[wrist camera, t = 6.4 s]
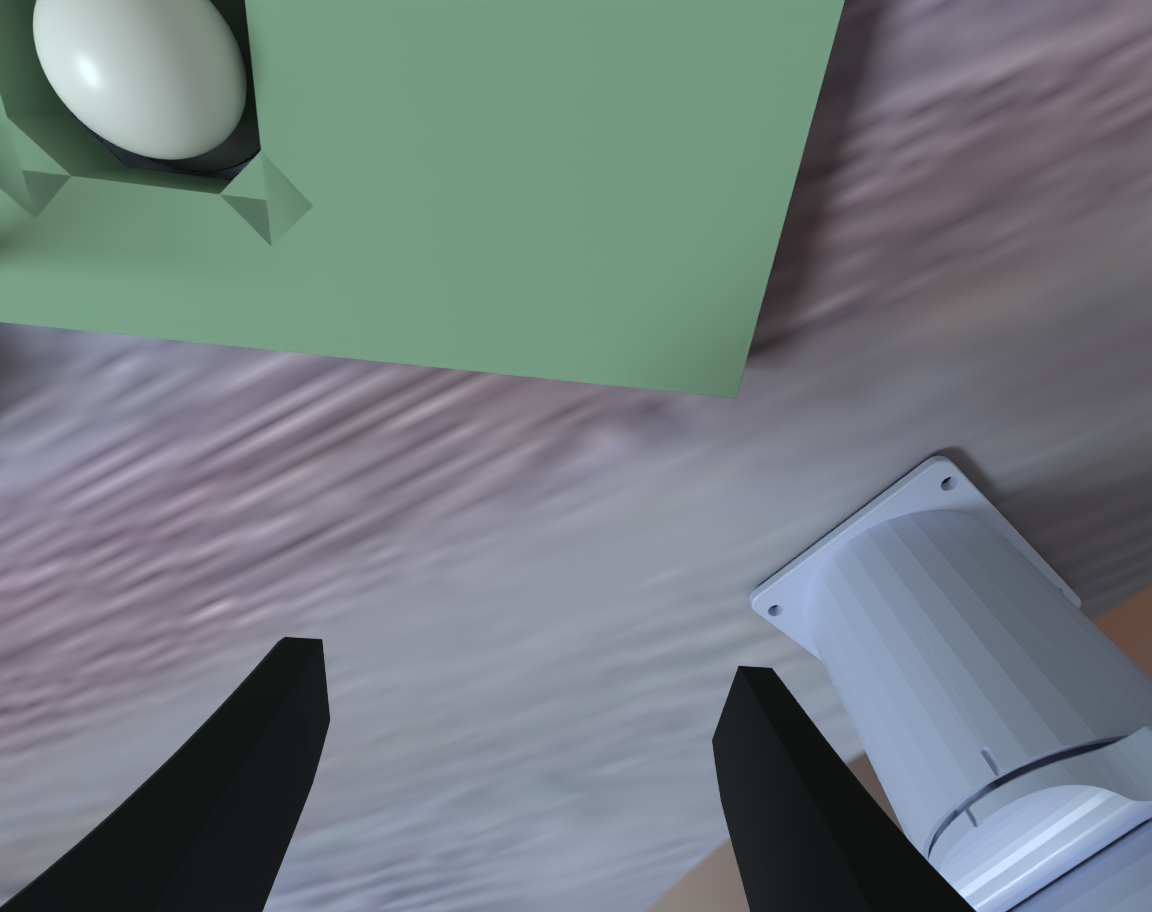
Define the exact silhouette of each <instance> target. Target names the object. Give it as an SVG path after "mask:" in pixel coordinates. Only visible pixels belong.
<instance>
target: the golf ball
mask: <svg viewBox="0 0 1152 912" xmlns="http://www.w3.org/2000/svg"><path fill="white" fill-rule="evenodd" d="M33 33H34V41H35V46H36V50H37V54H38V57H39V60H40V63H41V66H42V68H43V70H44V72H45V74H46V76H47V78H48V80H49V82H50V84H51V85H52V87H53V88H54V90H55V92H56V93H57V95H58V96H59V97H60V99H61V100H62V101H63V102H64V104H65V105H66V106H67V107H68V108H69V109H70V111H71V112H72V113H73V114H74V115H75V116H76V117H77V118H78V119H79V120H80V121H82V122H83V123H84V124H85V125H86V126H87V127H89V128H90V129H91V130H93V131H94V132H95V133H97V134H98V135H100V136H101V137H103V138H104V139H106V140H108V141H109V142H111V143H113V144H115V145H117V146H119V147H121V148H123V149H126V150H128V151H130V152H133V153H136V154H139V155H143V156H147V157H152V158H157V159H169V160H172V159H185V158H191V157H195V156H198V155H201V154H204V153H206V152H208V151H210V150H212V149H214V148H216V147H217V146H218V145H220V144H221V143H223V142H224V141H225V140H226V139H227V138H228V137H229V136H230V135H231V133H232V132H233V130H234V129H235V127H236V126H237V125H238V122H239V120H240V118H241V116H242V113H243V110H244V106H245V102H246V92H247V79H246V71H245V65H244V61H243V57H242V54H241V51H240V49H239V46H238V43H237V41H236V39H235V37H234V35H233V33H232V31H231V29H230V27H229V25H228V24H227V23H226V21H225V20H224V18H223V17H222V15H221V14H220V12H219V11H218V10H217V8H216V7H215V6H214V5H213V4H212V3H211V1H210V0H36V4H35V8H34V16H33Z"/></svg>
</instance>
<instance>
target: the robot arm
mask: <svg viewBox="0 0 1152 912" xmlns="http://www.w3.org/2000/svg"><path fill="white" fill-rule="evenodd" d="M948 477H950V479H949V480H948V481H947V482H946V483H944V484H941V483H942V482H943V481H944V479H946V478H948ZM750 603H751V605H752V608H753V609H754V610H755V611H756V612H757V613H758V614H760V615H761V616H762V617H764V618H765V619H766V620H768V621H769V622H770V623H772V624H773V625H774V626H776V627H777V628H778V629H780V630H781V631H782V632H784V633H785V634H786V635H788V636H789V637H790V638H792V639H793V640H794V641H796V642H797V643H798V644H800V645H801V646H802V647H804V648H805V649H806V650H807V651H809V652H810V653H811V654H813V655H814V656H815V657H817V658H818V659H819V660H821V661H822V662H823V663H824V665H825V667H826V669H827V671H828V673H829V676H830V678H831V680H832V682H833V684H834V686H835V688H836V690H837V692H838V694H839V697H840V699H841V701H842V703H843V705H844V707H845V709H846V711H847V713H848V715H849V717H850V720H851V722H852V724H853V726H854V728H855V730H856V732H857V734H858V736H859V738H860V740H861V743H862V745H863V747H864V749H865V751H866V753H867V755H868V757H869V759H870V761H871V763H872V765H873V768H874V770H875V772H876V774H877V776H878V778H879V780H880V782H881V784H882V786H883V789H884V791H885V793H886V795H887V797H888V799H889V801H890V803H891V805H892V807H893V809H894V812H895V814H896V816H897V818H898V820H899V822H900V824H901V826H902V828H903V830H904V833H905V835H906V836H905V835H904V834H903V833H902V832H901V831H900V829H899V828H898V827H897V826H896V825H895V824H894V823H893V822H892V820H891V819H890V818H889V817H888V816H887V815H886V813H885V812H884V811H883V810H882V809H881V808H880V806H879V805H878V804H877V803H876V801H875V800H874V799H873V798H872V797H871V795H870V794H869V793H868V792H867V791H866V790H865V788H864V787H863V786H862V785H861V783H860V782H859V781H858V779H857V778H856V777H855V776H854V775H853V773H852V772H851V771H850V770H849V768H848V767H847V766H846V764H845V763H844V762H843V761H842V759H841V758H840V757H839V756H838V754H837V753H836V752H835V751H834V749H833V748H832V747H831V745H830V744H829V743H828V742H827V740H826V739H825V738H824V736H823V735H822V734H821V732H820V731H819V730H818V728H817V727H816V726H815V724H814V723H813V722H812V721H811V719H810V718H809V717H808V715H807V714H806V713H805V711H804V710H803V709H802V707H801V706H800V705H799V703H798V702H797V701H796V699H795V698H794V697H793V695H792V694H791V693H790V691H789V690H788V689H787V687H786V686H785V685H784V683H783V682H782V681H781V679H780V678H779V677H778V675H777V674H776V673H775V672H774V670H773V669H772V668H764V667H748V666H738V669H737V672H736V675H735V678H734V680H733V683H732V686H731V689H730V692H729V694H728V697H727V700H726V703H725V706H724V708H723V711H722V714H721V717H720V720H719V722H718V725H717V728H716V731H715V734H714V736H713V739H712V744H713V751H714V758H715V765H716V773H717V779H718V785H719V791H720V797H721V803H722V806H723V810H724V814H725V818H726V822H727V826H728V830H729V834H730V837H731V841H732V845H733V849H734V853H735V856H736V860H737V864H738V867H739V871H740V875H741V879H742V882H743V886H744V890H745V893H746V897H747V901H748V905H749V908H750V912H1152V680H1151V679H1150V678H1149V677H1148V676H1147V675H1146V674H1145V673H1144V672H1143V671H1142V670H1141V669H1140V668H1139V667H1138V666H1137V665H1136V664H1135V663H1134V662H1133V661H1132V660H1131V659H1130V658H1129V657H1128V656H1127V655H1126V654H1125V653H1124V652H1122V651H1121V650H1120V649H1119V648H1118V647H1117V646H1116V645H1115V644H1114V643H1113V642H1112V641H1111V640H1110V639H1109V638H1108V637H1107V636H1106V635H1105V634H1104V633H1103V632H1102V631H1101V630H1100V629H1099V628H1098V627H1097V626H1096V625H1095V624H1094V623H1093V622H1092V621H1091V620H1090V619H1089V618H1088V617H1087V616H1086V615H1085V614H1084V613H1083V612H1082V611H1080V610H1079V608H1080V606H1081V600H1080V598H1079V597H1078V596H1077V595H1076V594H1075V593H1074V592H1073V590H1072V589H1071V588H1070V587H1069V586H1068V585H1067V584H1066V583H1065V582H1064V581H1063V580H1062V579H1061V578H1060V577H1059V575H1058V574H1057V573H1056V572H1055V571H1054V570H1053V569H1052V568H1051V567H1050V566H1049V565H1048V564H1047V563H1046V562H1045V560H1044V559H1043V558H1042V557H1041V556H1040V555H1039V554H1038V553H1037V552H1036V551H1035V550H1034V549H1033V548H1032V547H1031V545H1030V544H1029V543H1028V542H1027V541H1026V540H1025V539H1024V538H1023V537H1022V536H1021V535H1020V534H1019V533H1018V532H1017V530H1016V529H1015V528H1014V527H1013V526H1012V525H1011V524H1010V523H1009V522H1008V521H1007V520H1006V519H1005V518H1004V517H1003V515H1002V514H1001V513H1000V512H999V511H998V510H997V509H996V508H995V507H994V506H993V505H992V504H991V503H990V502H989V501H988V499H987V498H986V497H985V496H984V495H983V494H982V493H981V492H980V491H979V490H978V489H977V488H976V487H975V486H974V484H973V483H972V482H971V481H970V480H969V479H968V478H967V477H966V476H965V475H964V474H963V473H962V472H961V471H960V469H959V468H958V467H957V466H956V465H955V464H954V463H953V462H952V461H951V460H950V459H948V458H947V457H945V456H934V457H931V458H929V459H928V460H926V461H925V462H923V463H922V464H921V465H919V466H918V467H917V468H915V469H914V470H913V471H911V472H910V473H909V474H907V475H906V476H905V477H903V478H902V479H901V480H899V481H898V482H897V483H895V484H894V485H893V486H892V487H890V488H889V489H888V490H886V491H885V492H884V493H882V494H881V495H880V496H878V497H877V498H876V499H874V500H873V501H872V502H870V503H869V504H868V505H866V506H865V507H864V508H862V509H861V510H860V511H858V512H857V513H856V514H854V515H853V516H852V517H850V518H849V519H848V520H846V521H845V522H844V523H842V524H841V525H840V526H838V527H837V528H836V529H835V530H833V531H832V532H831V533H829V534H828V535H827V536H825V537H824V538H823V539H821V540H820V541H819V542H817V543H816V544H815V545H813V546H812V547H811V548H809V549H808V550H807V551H805V552H804V553H803V554H801V555H800V556H799V557H797V558H796V559H795V560H793V561H792V562H791V563H789V564H788V565H787V566H785V567H784V568H783V569H782V570H780V571H779V572H778V573H776V574H775V575H774V576H772V577H771V578H770V579H768V580H767V581H766V582H764V583H763V584H762V585H760V586H759V587H758V588H756V589H755V590H754V591H753V592H752V593H751V595H750ZM774 605H778V606H777V607H774V608H770V607H772V606H774ZM329 723H330V713H329V703H328V693H327V683H326V673H325V663H324V653H323V643H322V639H309V638H294V637H284V638H283V639H281V640H280V641H278V643H277V644H276V645H275V646H274V647H273V648H272V649H271V651H270V652H269V653H268V654H267V655H266V656H265V657H264V659H263V660H262V661H261V662H260V663H259V664H258V665H257V667H256V668H255V669H254V670H253V671H252V672H251V673H250V674H249V675H248V677H247V678H246V679H245V680H244V681H243V682H242V683H241V684H240V685H239V687H238V688H237V689H236V690H235V691H234V692H233V693H232V694H231V695H230V696H229V697H228V698H227V700H226V701H225V702H224V703H223V704H222V705H221V706H220V707H219V708H218V709H217V710H216V711H215V712H214V713H213V714H212V715H211V716H210V718H209V719H208V720H207V721H206V722H205V723H204V724H203V725H202V726H201V727H200V728H199V729H198V730H197V731H196V732H195V733H194V734H193V735H192V736H191V737H190V738H189V739H188V740H187V741H186V742H185V743H184V744H183V745H182V746H181V747H180V748H179V749H178V750H177V751H176V752H175V753H174V754H173V755H172V756H171V757H170V758H169V759H168V760H167V761H166V762H165V763H164V764H163V765H162V766H161V767H160V768H159V769H158V770H157V771H156V772H155V773H154V774H153V775H152V776H151V777H150V778H148V779H147V780H146V781H145V782H144V783H143V784H142V785H141V786H140V787H139V788H138V789H137V790H136V791H135V792H134V793H133V794H132V795H131V796H130V797H128V798H127V799H126V800H125V801H124V802H123V803H122V804H121V805H120V806H119V807H118V808H117V809H116V810H115V811H114V812H112V813H111V814H110V815H109V816H108V817H107V818H106V819H105V820H103V821H102V822H101V823H100V824H99V825H98V826H97V827H96V828H95V829H93V830H92V831H91V832H90V833H89V834H88V835H87V836H85V837H84V838H83V839H82V840H81V841H80V842H79V843H77V844H76V845H75V846H74V847H73V848H72V849H70V850H69V851H68V852H67V853H66V854H65V855H63V856H62V857H61V858H60V859H59V860H57V861H56V862H55V863H54V864H53V865H52V866H50V867H49V868H48V869H47V870H46V871H45V872H43V873H42V874H41V875H40V876H38V877H37V878H36V879H35V880H34V881H32V882H31V883H30V884H29V885H27V886H26V887H25V888H24V889H22V890H21V891H20V892H19V893H17V894H16V895H15V896H14V897H12V898H11V899H10V900H9V901H7V902H6V903H5V904H4V905H2V906H1V907H0V912H262V911H263V909H264V906H265V904H266V901H267V898H268V896H269V893H270V891H271V888H272V886H273V883H274V881H275V878H276V876H277V873H278V871H279V868H280V866H281V863H282V861H283V858H284V856H285V853H286V851H287V848H288V845H289V843H290V840H291V838H292V835H293V833H294V830H295V828H296V825H297V823H298V820H299V818H300V815H301V812H302V810H303V807H304V805H305V802H306V800H307V797H308V794H309V792H310V789H311V787H312V784H313V781H314V777H315V774H316V770H317V767H318V763H319V760H320V756H321V753H322V749H323V745H324V742H325V738H326V734H327V730H328V727H329Z"/></svg>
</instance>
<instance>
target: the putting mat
mask: <svg viewBox="0 0 1152 912" xmlns="http://www.w3.org/2000/svg"><path fill="white" fill-rule="evenodd" d="M210 1H211V3H212V4H213V5H214V6H215V7H216V8H217V10H218V11H219V12H220V14H221V15H222V17H223V18H224V20H225V21H226V23H227V24H228V25H229V27H230V29H231V31H232V33H233V35H234V37H235V39H236V41H237V43H238V46H239V49H240V51H241V54H242V57H243V61H244V65H245V71H246V79H247V92H246V102H245V106H244V110H243V113H242V116H241V118H240V120H239V122H238V125H237V126H236V127H235V129H234V130H233V132H232V133H231V135H230V136H229V137H228V138H227V139H226V140H225V141H224V142H223V143H221V144H220V145H218V146H217V147H216V148H214V149H212V150H210V151H208V152H206V153H204V154H201V155H198V156H195V157H191V158H185V159H172V160H169V159H157V158H152V157H147V156H146V157H147V158H150V159H152V160H154V161H156V162H159V163H161V164H164V165H167V166H170V167H173V168H176V169H182V170H187V171H198V172H206V171H217V170H221V169H225V168H229V167H232V166H234V165H237V164H239V163H241V162H243V161H245V160H246V159H248V158H249V157H251V156H252V155H253V154H255V153H256V152H257V151H258V150H259V149H260V148H261V151H260V152H259V153H258V154H257V155H256V156H255V157H254V159H253V160H252V161H251V162H250V163H249V164H248V165H247V166H246V167H245V168H244V169H243V170H242V171H241V172H240V173H239V174H238V175H237V176H236V177H235V178H234V180H228V179H220V178H212V177H204V176H196V175H188V174H180V173H172V172H164V171H156V170H148V169H140V168H133V167H126V166H125V165H124V164H123V163H122V162H121V161H120V160H119V159H118V158H117V157H116V156H115V155H114V154H113V153H111V152H110V151H109V150H108V149H107V148H106V147H105V146H104V145H103V144H102V143H101V142H100V141H99V140H98V139H97V138H96V137H95V136H94V135H93V134H92V133H90V132H89V131H88V130H87V129H86V128H85V127H84V126H83V125H82V124H81V123H80V122H79V121H78V120H77V119H76V118H75V117H74V116H73V115H72V114H71V111H70V109H69V108H68V107H67V106H66V105H65V104H64V102H63V101H62V100H61V99H60V97H59V96H58V95H57V93H56V92H55V90H54V88H53V87H52V85H51V84H50V82H49V80H48V78H47V76H46V74H45V72H44V70H43V68H42V66H41V63H40V60H39V57H38V54H37V50H36V46H35V41H34V33H33V16H34V8H35V4H36V0H0V322H5V323H14V324H24V325H34V326H43V327H53V328H63V329H72V330H82V331H92V332H101V333H111V334H121V335H130V336H140V337H150V338H159V339H169V340H179V341H188V342H198V343H208V344H217V345H227V346H237V347H246V348H256V349H266V350H275V351H285V352H295V353H304V354H314V355H324V356H333V357H343V358H353V359H362V360H372V361H382V362H391V363H401V364H411V365H420V366H430V367H440V368H449V369H459V370H469V371H478V372H488V373H498V374H507V375H517V376H527V377H536V378H546V379H556V380H565V381H575V382H585V383H594V384H604V385H614V386H623V387H633V388H643V389H652V390H662V391H672V392H681V393H691V394H701V395H710V396H720V397H730V398H736V396H737V392H738V389H739V385H740V381H741V378H742V374H743V370H744V367H745V363H746V359H747V356H748V352H749V349H750V345H751V341H752V338H753V334H754V330H755V327H756V323H757V319H758V316H759V312H760V308H761V305H762V301H763V297H764V294H765V290H766V286H767V283H768V279H769V275H770V272H771V268H772V264H773V261H774V257H775V253H776V250H777V246H778V243H779V239H780V235H781V232H782V228H783V224H784V221H785V217H786V213H787V210H788V206H789V202H790V199H791V195H792V191H793V188H794V184H795V180H796V177H797V173H798V169H799V166H800V162H801V158H802V155H803V151H804V148H805V144H806V140H807V137H808V133H809V129H810V126H811V122H812V118H813V115H814V111H815V107H816V104H817V100H818V96H819V93H820V89H821V85H822V82H823V78H824V74H825V71H826V67H827V63H828V60H829V56H830V52H831V49H832V45H833V42H834V38H835V34H836V31H837V27H838V23H839V20H840V16H841V12H842V9H843V5H844V1H845V0H210Z"/></svg>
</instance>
